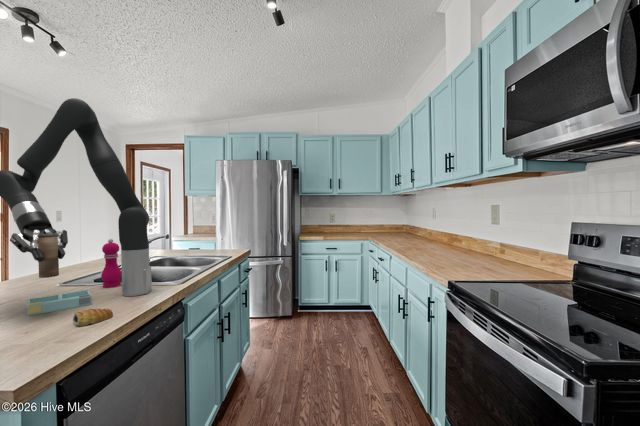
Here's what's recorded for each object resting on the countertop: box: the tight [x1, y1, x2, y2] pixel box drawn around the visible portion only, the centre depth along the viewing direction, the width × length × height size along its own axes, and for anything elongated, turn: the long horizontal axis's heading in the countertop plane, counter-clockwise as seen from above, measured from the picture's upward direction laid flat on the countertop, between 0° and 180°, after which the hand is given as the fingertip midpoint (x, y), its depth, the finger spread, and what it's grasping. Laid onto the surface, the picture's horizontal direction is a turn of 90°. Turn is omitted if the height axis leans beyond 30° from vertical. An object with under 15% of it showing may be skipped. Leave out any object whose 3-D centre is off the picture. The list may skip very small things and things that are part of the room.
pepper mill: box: [100, 238, 122, 289], centre depth 128 cm, size 7×7×20 cm
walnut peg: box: [37, 233, 60, 279], centre depth 93 cm, size 5×5×13 cm
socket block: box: [26, 289, 92, 317], centre depth 102 cm, size 16×10×3 cm, turn 132°
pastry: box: [72, 308, 114, 327], centre depth 89 cm, size 9×7×4 cm
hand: (51, 258), depth 92 cm, fingers closed on walnut peg, 4 cm apart
